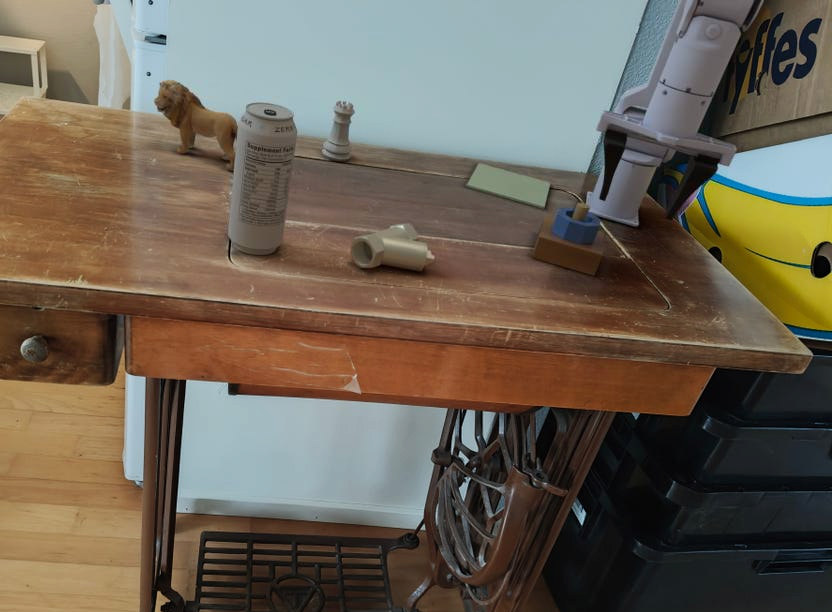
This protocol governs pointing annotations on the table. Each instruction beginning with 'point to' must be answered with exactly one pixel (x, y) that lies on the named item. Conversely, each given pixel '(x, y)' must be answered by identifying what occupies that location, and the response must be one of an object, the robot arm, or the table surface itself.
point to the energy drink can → (262, 177)
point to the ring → (575, 226)
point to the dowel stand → (568, 246)
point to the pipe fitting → (392, 249)
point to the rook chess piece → (339, 133)
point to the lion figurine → (196, 119)
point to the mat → (509, 185)
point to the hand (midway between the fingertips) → (635, 207)
